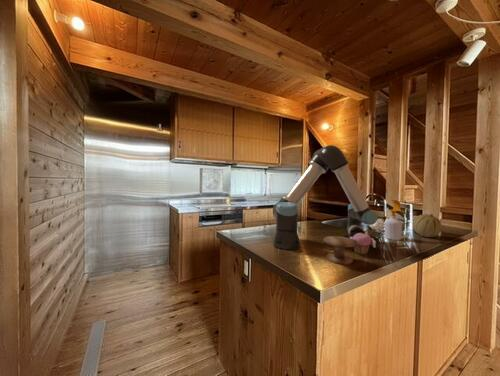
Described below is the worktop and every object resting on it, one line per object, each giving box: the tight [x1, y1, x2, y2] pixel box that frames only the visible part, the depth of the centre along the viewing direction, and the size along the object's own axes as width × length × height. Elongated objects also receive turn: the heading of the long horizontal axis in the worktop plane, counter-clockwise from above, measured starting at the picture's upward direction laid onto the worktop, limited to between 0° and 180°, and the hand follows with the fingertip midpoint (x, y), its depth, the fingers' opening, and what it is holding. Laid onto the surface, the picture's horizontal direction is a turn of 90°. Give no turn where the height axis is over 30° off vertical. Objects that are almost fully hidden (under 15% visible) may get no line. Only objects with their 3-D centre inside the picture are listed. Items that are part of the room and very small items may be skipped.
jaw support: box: [368, 218, 385, 234], centre depth 155 cm, size 12×9×10 cm
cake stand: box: [322, 235, 357, 265], centre depth 98 cm, size 14×14×9 cm
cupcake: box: [352, 233, 372, 255], centre depth 107 cm, size 9×9×10 cm
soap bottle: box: [383, 198, 403, 241], centre depth 136 cm, size 9×9×25 cm
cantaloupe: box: [412, 214, 443, 238], centre depth 140 cm, size 15×15×15 cm
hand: (363, 243), depth 103 cm, fingers closed on cupcake, 9 cm apart
